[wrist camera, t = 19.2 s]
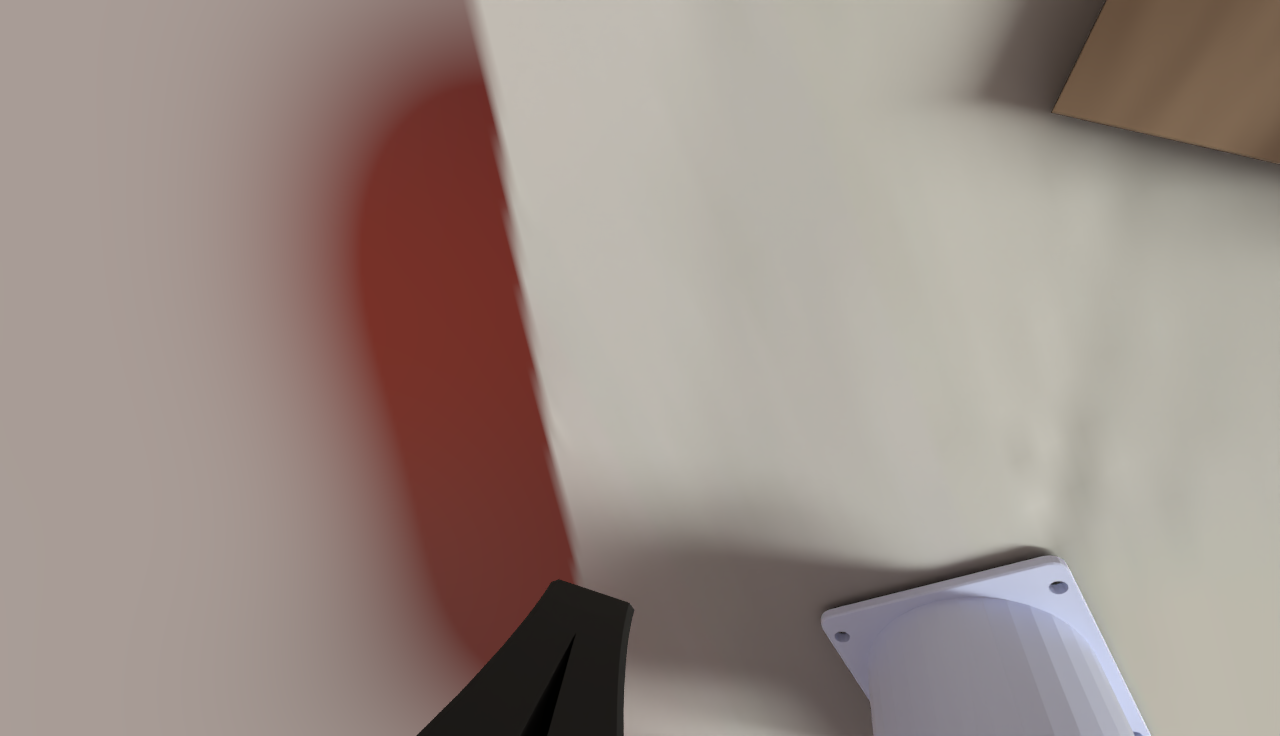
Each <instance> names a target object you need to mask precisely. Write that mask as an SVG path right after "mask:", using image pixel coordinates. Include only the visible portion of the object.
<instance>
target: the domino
mask: <svg viewBox="0 0 1280 736" xmlns="http://www.w3.org/2000/svg"><path fill="white" fill-rule="evenodd" d="M1051 113H1055V114H1059V115H1064V116H1068V117H1073V118H1077V119H1082V120H1086V121H1090V122H1095V123H1099V124H1104V125H1108V126H1113V127H1117V128H1121V129H1126V130H1130V131H1135V132H1139V133H1144V134H1148V135H1152V136H1157V137H1161V138H1166V139H1170V140H1175V141H1179V142H1183V143H1188V144H1192V145H1197V146H1201V147H1205V148H1210V149H1214V150H1219V151H1223V152H1228V153H1232V154H1236V155H1241V156H1245V157H1250V158H1254V159H1259V160H1263V161H1267V162H1272V163H1276V164H1280V0H1106V1H1105V3H1104V5H1103V7H1102V10H1101V12H1100V14H1099V16H1098V18H1097V20H1096V22H1095V24H1094V26H1093V28H1092V30H1091V32H1090V34H1089V36H1088V38H1087V40H1086V42H1085V44H1084V46H1083V49H1082V51H1081V53H1080V55H1079V57H1078V59H1077V61H1076V63H1075V65H1074V67H1073V69H1072V71H1071V73H1070V75H1069V77H1068V79H1067V81H1066V83H1065V85H1064V88H1063V90H1062V92H1061V94H1060V96H1059V98H1058V100H1057V102H1056V104H1055V106H1054V108H1053V110H1052V112H1051Z"/></svg>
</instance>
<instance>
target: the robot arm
mask: <svg viewBox="0 0 1280 736" xmlns="http://www.w3.org/2000/svg"><path fill="white" fill-rule="evenodd" d="M1055 581H1062V583H1059V584H1056V585H1052V584H1051V583H1053V582H1055ZM633 613H634V609H633V608H632V606H631V605H630V603H628V602H625V601H622V600H619V599H616V598H613V597H610V596H607V595H604V594H601V593H598V592H595V591H592V590H589V589H586V588H583V587H580V586H577V585H574V584H571V583H568V582H565V581H562V580H556V581H553V582H551V584H550V585H549V587H548V588H547V590H546V591H545V593H544V594H543V596H542V597H541V599H540V600H539V601H538V603H537V604H536V605H535V607H534V608H533V610H532V611H531V612H530V613H529V615H528V616H527V617H526V618H525V620H524V621H523V622H522V623H521V625H520V626H519V627H518V628H517V630H516V631H515V632H514V633H513V634H512V635H511V637H510V638H509V639H508V640H507V642H506V643H505V644H504V645H503V646H502V647H501V648H500V650H499V651H498V652H497V653H496V654H495V655H494V656H493V657H492V658H491V659H490V661H489V662H488V663H487V664H486V665H485V666H484V667H483V668H482V669H481V671H480V672H479V673H478V674H477V675H476V676H475V677H474V678H473V679H472V680H471V681H470V683H469V684H468V685H467V686H466V687H465V688H464V689H463V690H462V691H461V692H460V693H459V694H458V695H457V696H456V697H455V698H454V699H453V700H452V701H451V702H450V703H449V704H448V705H447V706H446V707H445V708H444V709H443V710H442V711H441V712H440V713H439V714H438V715H437V716H436V717H435V718H434V719H433V720H432V721H431V722H430V723H429V724H428V725H427V726H426V727H425V728H424V729H423V730H422V731H421V732H420V733H419V734H418V735H417V736H624V725H623V707H624V681H625V665H626V654H627V645H628V637H629V631H630V626H631V621H632V616H633ZM821 626H822V629H823V631H824V632H825V634H826V635H827V637H828V638H829V640H830V641H831V643H832V644H833V646H834V647H835V649H836V650H837V652H838V654H839V655H840V657H841V658H842V660H843V661H844V663H845V664H846V666H847V667H848V669H849V670H850V672H851V673H852V675H853V676H854V678H855V680H856V681H857V683H858V684H859V686H860V687H861V689H862V690H863V692H864V693H865V695H866V696H867V698H868V699H869V701H870V704H871V715H872V726H873V736H1151V734H1150V732H1149V730H1148V728H1147V726H1146V724H1145V722H1144V720H1143V718H1142V716H1141V714H1140V712H1139V710H1138V708H1137V706H1136V704H1135V702H1134V700H1133V698H1132V696H1131V694H1130V692H1129V689H1128V687H1127V685H1126V683H1125V681H1124V679H1123V677H1122V675H1121V673H1120V671H1119V669H1118V667H1117V665H1116V663H1115V661H1114V659H1113V657H1112V655H1111V653H1110V651H1109V649H1108V647H1107V645H1106V643H1105V641H1104V638H1103V636H1102V634H1101V632H1100V630H1099V628H1098V626H1097V624H1096V622H1095V620H1094V618H1093V616H1092V614H1091V612H1090V610H1089V608H1088V606H1087V604H1086V602H1085V600H1084V598H1083V596H1082V594H1081V592H1080V589H1079V587H1078V585H1077V583H1076V581H1075V579H1074V577H1073V575H1072V573H1071V571H1070V569H1069V567H1068V565H1067V563H1066V562H1065V561H1064V560H1063V559H1061V558H1059V557H1057V556H1052V555H1048V556H1041V557H1037V558H1033V559H1029V560H1025V561H1021V562H1017V563H1013V564H1009V565H1005V566H1001V567H997V568H993V569H989V570H985V571H981V572H977V573H973V574H969V575H965V576H961V577H957V578H953V579H949V580H945V581H941V582H937V583H933V584H929V585H925V586H921V587H917V588H913V589H909V590H905V591H901V592H897V593H893V594H889V595H885V596H881V597H877V598H873V599H869V600H865V601H861V602H857V603H853V604H849V605H845V606H841V607H837V608H833V609H829V610H827V611H825V612H824V613H823V614H822V616H821ZM839 632H846V633H839Z"/></svg>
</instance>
